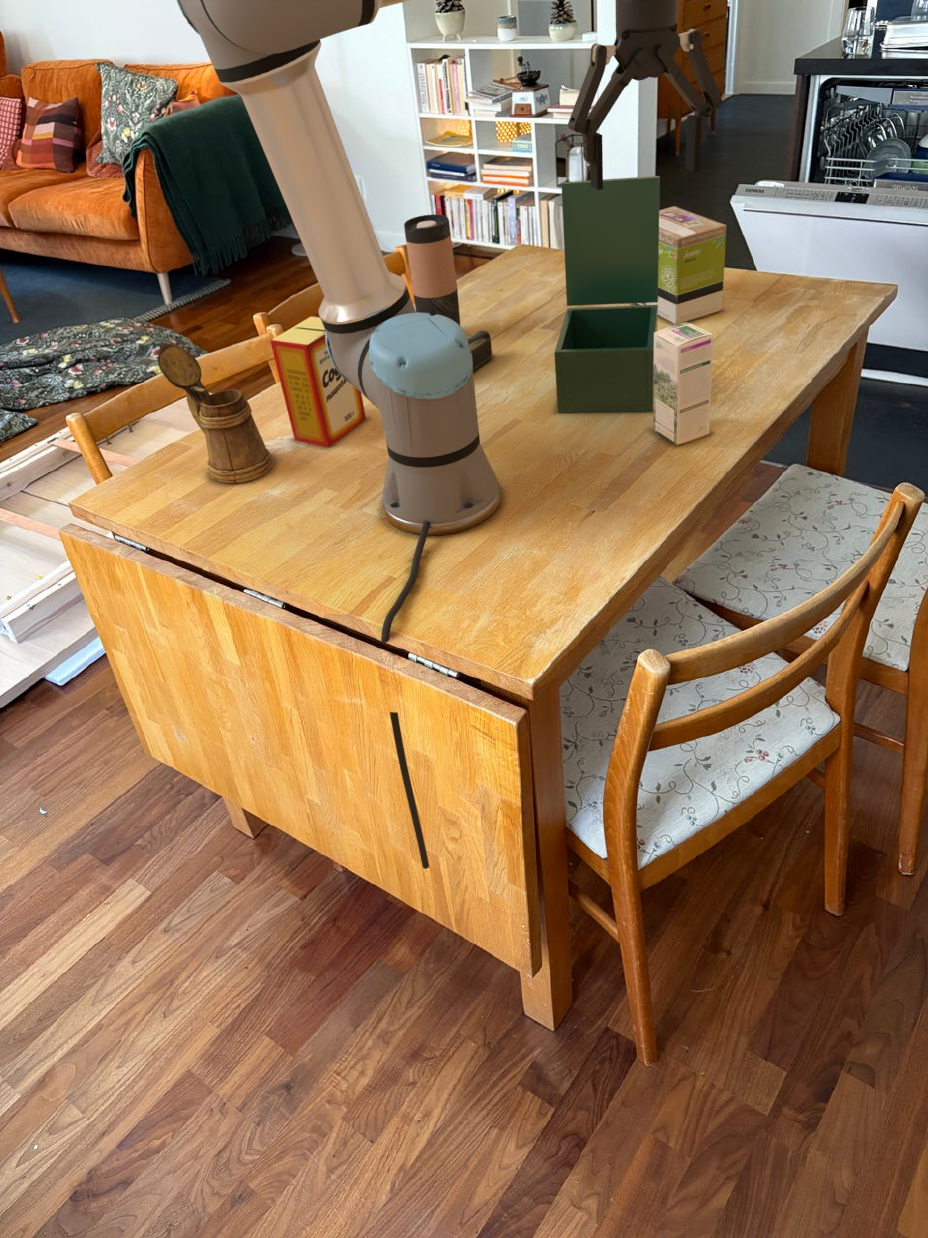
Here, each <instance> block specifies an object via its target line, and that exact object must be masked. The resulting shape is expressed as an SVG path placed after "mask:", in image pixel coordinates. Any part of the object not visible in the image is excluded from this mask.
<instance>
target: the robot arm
mask: <svg viewBox="0 0 928 1238" xmlns="http://www.w3.org/2000/svg"><path fill="white" fill-rule="evenodd" d="M409 1H410V0H176V3H177V5H178V8H179V10H180V12H181V15H182V16H183V18H184V19H186V22H187V24H188V25H190V27H191V28H192V29H193V31H194V32H196V34H197V35H199V36H200V39H201V41H202V43H203V46H204V49H205V52H206V53H207V55H208V58H209V60H210V63H211V65H212V67H213V69H214V72H215V74H216V76H217V79H218V81H219V84H220V85H221V86H223V87H225V88H227V89H229V90H231V91H233V92H235V93H236V94H238V95H239V96H240V98H241V99H242V103H243V104H244V107H245V109H246V110H247V114H248V117H249V118H250V121H251V124H252V125H253V129H254V130H255V133H256V135H257V138H258V140H259V143H260V145H261V148H262V150H263V152H264V155H265V157H266V159H267V162H268V164H269V167H270V169H271V172H272V174H273V176H274V179H275V182H276V184H277V186H278V188H279V191H280V193H281V195H282V199H283V200H284V203H285V205H286V207H287V210H288V213H289V215H290V217H291V220H292V222H293V225H294V227H295V229H296V232H297V234H298V236H299V239H300V241H301V244H302V246H303V249H304V251H305V254H306V257H307V259H308V261H309V264H310V265H311V268H312V271H313V273H314V275H315V277H316V280H317V283H318V284H319V287H320V290H321V292H322V294H323V299H322V301H321V303H320V306H319V308H318V317H320V318H321V321H322V323H323V326H324V328H325V331H326V333H325V340H326V347H327V351H328V354H329V356H330V359H331V361H332V363H333V365H334V366H335V368H336V369H337V371H338V372H339V373H340V375H341V376H342V377H343V378H344V379H346V381H348V382H349V383H351V384H352V385H354V386H355V387H356V388H357V389H358V390H359V391H360V392H361V395H363V396H364V397H365V398H366V399H367V400H368V401H369V402H370V403H371V404H373V406H374V407H376V409H377V410H378V411H379V413H380V416H381V417H380V418H381V423H382V427H383V433H384V439H385V444H386V451H387V456H388V460H387V465H386V471H385V477H384V483H383V489H382V499H381V502H382V507H383V513H384V517H385V518H386V520H387V521H388V522H389V523H390V524H391V525H392V526H394V527H395V528H397V529H399V530H401V531H404V532H407V533H411V534H416V535H419V536H418V539H417V543H416V546H415V550H414V554H413V558H412V563H411V568H410V573H409V575H408V579H407V581H406V583H405V585H404V587H403V589H402V590H401V591H400V592H399V593H400V594H399V595H398V596H397V598H396V600H395V602H394V603H393V605H392V607H391V608H390V609H389V611H388V612H387V613H386V616H385V618H384V621H383V625H382V629H381V637H380V638H381V639H380V641H381V643H382V644H386V643H388V642H389V640H390V637H391V636H390V635H391V628H392V626H393V625H392V624H393V621H394V620H395V617H396V616H397V614H398V613H399V611H400V610H401V608H402V607H403V605H404V603H405V601H406V600H407V598H408V596H409V594H410V593H411V591H412V590H413V588H414V586H415V584H416V581H417V578H418V574H419V572H420V571H419V570H420V563H421V559H422V555H423V551H424V548H425V545H426V541H427V538H428V535H429V536H434V535H446V534H453V533H457V532H461V531H464V530H467V529H470V528H473V527H475V526H477V525H479V524H480V523H482V522H484V521H485V520H487V519H488V518H489V517H491V516H492V515H493V514H494V513H495V512H496V510H497V509H498V507H499V505H500V503H501V491H500V490H501V489H500V483H499V480H498V478H497V475H496V473H495V471H494V469H493V467H492V464H491V463H490V461H489V459H488V456H487V454H486V453H485V450H484V449H483V446H482V443H481V438H480V431H479V430H480V429H479V417H478V410H477V398H476V391H475V390H476V389H475V381H474V371H473V370H472V369H473V361H472V354H471V352H470V348H469V344H468V339H467V338H468V336H467V333H466V332H465V330H464V328H462V327H460V326H461V324H460V325H459V324H457V323H456V322H455V321H453V320H451V319H450V318H447V317H445V316H442V315H438V314H437V315H434V316H431V315H430V313H416V307H415V304H414V302H413V300H412V297H411V294H410V292H409V289H408V286H407V283H406V281H405V278H403V277H402V276H400V275H399V274H396V273H393V272H391V271H389V269H388V265H387V263H386V261H385V258H384V255H383V251H382V250H381V249H382V248H381V246H380V244H379V242H378V239H377V235H376V233H375V230H374V226H373V223H372V222H371V219H370V216H369V213H368V211H367V208H366V205H365V202H364V199H363V196H362V193H361V191H360V189H359V186H358V182H357V180H356V176H355V174H354V173H353V169H352V165H351V164H350V163H351V162H350V160H349V157H348V155H347V152H346V150H345V146H344V144H343V141H342V139H341V135H340V133H339V131H338V128H337V124H336V121H335V119H334V116H333V113H332V110H331V108H330V105H329V101H328V99H327V97H326V94H325V91H324V88H323V85H322V83H321V80H320V77H319V74H318V73H317V72H318V71H317V68H316V60H317V58H318V55H319V53H320V50H321V47H322V41H321V40H323V39H326V38H328V37H331V36H333V35H336V34H340V33H343V32H347V31H349V30H353V29H355V28H359V27H364V26H367V25H371V24H372V23H373V22H374V21H375V19H376V17H377V15H378V12H379V10H380V9H382V8H387V7H390V6H394V5H397V4H398V5H399V4H400V3H405V2H409ZM679 1H680V0H615V40H614V43H613V44H601V43H597V42H596V43H593V44H592V45H591V47H590V56H589V58H590V59H589V66H588V69H587V71H586V74H585V76H584V79H583V82H582V85H581V87H580V90H579V92H578V95H577V98H576V101H575V103H574V106H573V109H572V111H571V114H570V117H569V120H568V123H567V127H568V129H570V130H571V131H573V132H575V133H577V134H578V133H579V134H581V135H582V156H583V160H584V162H586V163H588V164H589V175H590V176H589V177H590V180H589V181H590V183H591V186H592V187H594V188H595V189H597V190H601V189H603V179H604V170H603V169H604V168H603V167H604V166H603V165H604V164H603V163H604V161H603V158H604V157H603V134H601V133H599V132H598V130H600V127H601V126H602V124H603V122H604V121H605V120H606V118H607V116H608V115H609V114H610V112H611V110H612V109H613V107H614V105H615V104H616V102H617V100H618V99H619V98H620V97H621V94H622V93H623V91H624V90H625V89H626V87H628V86H629V84H630V83H631V82H632V80H633V81H634V80H635V81H636V82H639V81H644V80H646V79H648V78H654V79H656V78H661V77H662V75H664V76H665V77H666V78H667V79H668V81H669V82H670V83H671V85H672V86H673V87H674V88H675V90H676V91H677V93H678V95H680V97H681V98H682V99H683V101H684V102H685V103H686V104H687V105H688V107H689V108H690V110H691V111H692V112H693V113H694V114H690V115H686V140H685V165H684V166H685V168H684V169H685V170H687V171H689V172H692V173H693V174H694V173H695V174H696V173H699V172H700V163H701V162H700V161H701V144H702V143H703V144H704V143H705V142H706V141H707V138H708V136H707V135H708V118H710V117H712V114H713V111H715V110H720V109H721V108H722V106H723V103H724V102H723V99H722V95H721V93H720V91H719V89H718V86H717V83H716V80H715V78H714V75H713V73H712V70H711V68H710V65H709V62H708V60H707V57H706V55H705V52H704V50H703V34H702V33H703V32H702V31H701V30H699V29H694V28H687V29H686V30H685V32H682V33H679V32H678V23H679ZM680 46H681V49H682V50H683V51H684V52H685V53H686V57H687V59H688V61H689V64H690V67H691V69H692V72H693V74H694V76H695V79H696V81H697V84H698V86H699V89H700V92H701V94H702V97H703V98H702V97H701V95H700V94H699V93H698V91H697V90H696V89H695V87H694V86H693V84H692V83H691V82H690V81H689V79H688V78H687V77H686V75H685V74H684V72H683V71H682V68H681V66H680V65H679V64H678V63H677V61H676V60H675V59H674V57H675V55H676V53H677V51H678V50H679V48H680ZM612 57H613V58H614V59H615V60H616V62H617V63H618V64H617V65H616V67H615V69H614V71H613V72H612V74H611V76H610V79H609V81H608V83H607V85H606V86H605V88H604V89H603V91H602V92H601V94H600V96H599V97H598V99H597V101H596V102H595V104H594V105H593V103H594V101H595V98H596V95H597V93H598V91H599V88H600V85H601V82H602V79H603V77H604V74H605V71H606V66H607V65H609V64H610V63H611V59H612ZM591 108H592V109H591ZM389 715H390V716H389V717H390V722H391V728H392V733H393V739H394V745H395V749H396V754H397V760H398V764H399V765H398V766H399V769H400V774H401V779H402V782H403V786H404V791H405V796H406V800H407V804H408V808H409V812H410V816H411V817H410V818H411V821H412V825H413V830H414V833H415V839H416V842H417V847H418V852H419V857H420V860H421V866H422V868H423V869H424V870H427V869H429V868H430V863H429V858H428V854H427V848H426V844H425V840H424V834H423V830H422V825H421V820H420V816H419V813H418V812H419V811H418V807H417V803H416V799H415V798H416V797H415V794H414V790H413V786H412V781H411V776H410V771H409V768H408V762H407V757H406V752H405V748H404V741H403V736H402V730H401V724H400V718H399V712H397V711H395V712H393V711H389Z"/></svg>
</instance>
